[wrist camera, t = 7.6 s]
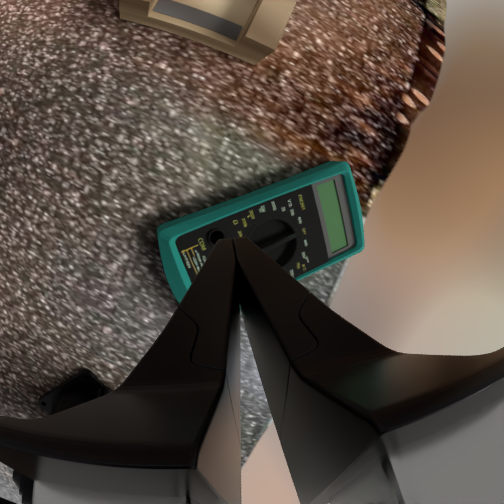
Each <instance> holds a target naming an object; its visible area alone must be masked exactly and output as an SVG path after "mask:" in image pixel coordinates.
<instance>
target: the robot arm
mask: <svg viewBox="0 0 504 504" xmlns="http://www.w3.org/2000/svg"><path fill="white" fill-rule="evenodd" d="M240 308H241V312H242V316H243V320H244V323H245V327H246V330H247V334H248V337H249V341H250V344H251V348H252V351H253V354H254V358H255V361H256V365H257V368H258V371H259V375H260V378H261V381H262V385H263V388H264V391H265V394H266V398H267V401H268V404H269V407H270V411H271V414H272V417H273V420H274V423H275V427H276V430H277V433H278V436H279V439H280V443H281V446H282V449H283V452H284V455H285V458H286V461H287V465H288V468H289V471H290V474H291V477H292V480H293V483H294V486H295V489H296V492H297V495H298V498H299V501H300V503H301V504H328V503H330V504H504V347H503V348H501V349H499V350H497V351H495V352H492V353H488V354H483V355H473V356H451V355H423V354H406V353H400V352H396V351H394V350H391V349H389V348H387V347H385V346H384V345H382V344H380V343H379V342H377V341H376V340H374V339H373V338H371V337H370V336H368V335H367V334H366V333H364V332H362V331H361V330H359V329H358V328H357V327H355V326H354V325H352V324H351V323H349V322H348V321H346V320H345V319H344V318H342V317H341V316H340V315H338V314H337V313H335V312H334V311H332V310H331V309H330V308H329V307H328V306H326V305H325V304H324V303H323V302H322V301H320V300H319V299H318V298H317V297H316V296H315V295H313V294H312V293H310V291H309V290H307V289H306V288H305V287H304V286H303V285H302V284H301V283H299V282H298V281H297V280H296V279H295V278H294V277H292V276H291V275H290V274H289V273H288V272H287V271H286V270H284V269H283V268H282V267H281V266H280V265H279V264H277V263H276V262H275V261H274V260H273V259H272V258H271V257H269V256H268V255H267V254H266V253H265V252H264V251H262V250H261V249H260V248H259V247H258V246H257V245H255V244H254V243H253V242H252V241H251V240H250V239H249V238H247V237H238V238H234V239H233V240H232V239H230V238H228V239H219V240H218V241H217V243H216V244H215V246H214V247H213V249H212V251H211V252H210V254H209V256H208V257H207V259H206V260H205V262H204V264H203V265H202V267H201V269H200V270H199V272H198V274H197V275H196V277H195V279H194V280H193V282H192V284H191V285H190V287H189V289H188V290H187V292H186V294H185V295H184V297H183V299H182V300H181V302H180V304H179V306H178V308H177V309H176V310H175V312H174V314H173V316H172V317H171V319H170V320H169V322H168V324H167V325H166V327H165V328H164V330H163V331H162V333H161V334H160V335H159V337H158V338H157V340H156V341H155V342H154V344H153V345H152V346H151V348H150V349H149V350H148V351H147V353H146V354H145V355H144V357H143V358H142V359H141V360H140V362H139V363H138V364H137V366H136V367H135V368H134V370H133V371H132V372H131V373H130V375H129V376H128V377H127V378H126V380H125V381H124V382H123V383H122V384H121V385H120V386H119V387H118V388H116V389H115V390H114V391H112V390H111V389H110V388H109V387H107V386H105V385H104V384H103V383H102V382H101V381H100V380H99V379H98V378H97V377H96V376H95V375H94V374H93V373H92V372H91V371H89V370H83V371H81V372H80V373H78V374H76V375H75V376H73V377H72V378H70V379H68V380H67V381H65V382H63V383H62V384H60V385H59V386H57V387H55V388H54V389H52V390H50V391H49V392H47V393H46V394H44V395H42V396H41V397H40V398H39V401H38V403H39V405H40V406H41V407H42V408H43V409H45V410H46V411H47V412H48V413H49V414H50V416H46V417H42V418H37V419H18V418H13V417H8V416H0V461H1V462H2V463H4V464H5V465H7V466H9V467H10V468H12V469H14V471H13V478H12V479H13V481H14V482H15V484H16V485H17V487H18V488H19V495H22V504H241V447H240V446H241V424H240ZM85 375H88V376H89V377H85ZM44 402H45V403H44ZM0 504H16V503H14V502H11V501H8V500H6V499H3V498H1V497H0Z"/></svg>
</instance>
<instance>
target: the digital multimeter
mask: <svg viewBox="0 0 504 504" xmlns="http://www.w3.org/2000/svg"><path fill="white" fill-rule="evenodd" d="M302 187H303V188H302ZM294 190H295V191H294ZM286 193H287V194H286ZM278 196H279V197H278ZM273 198H274V199H273ZM265 201H266V202H265ZM260 203H261V204H260ZM252 206H253V207H252ZM247 208H248V209H247ZM242 210H243V211H242ZM237 212H238V213H237ZM232 214H233V215H232ZM227 216H228V217H227ZM224 217H225V218H224ZM222 218H223V219H222ZM219 219H220V220H219ZM217 220H218V221H217ZM212 222H213V223H212ZM207 224H208V225H207ZM202 226H203V227H202ZM197 228H198V229H197ZM195 229H196V230H195ZM190 231H191V232H190ZM185 233H186V234H185ZM183 234H184V235H183ZM157 237H158V244H159V250H160V255H161V259H162V263H163V267H164V271H165V275H166V279H167V281H168V283H169V286H170V288H171V290H172V292H173V294H174V296H175V298H176V299H177V301H178V302H179V304H180V302H181V300H182V299H183V297H184V295H185V294H186V292H187V290H188V289H189V287H190V285H191V284H192V282H193V280H194V279H195V277H196V275H197V274H198V272H199V270H200V269H201V267H202V265H203V264H204V262H205V260H206V259H207V257H208V256H209V254H210V252H211V251H212V249H213V247H214V246H215V244H216V243H217V241H218V240H219V239H228V238H230V239H232V240H233V239H234V238H238V237H247V238H249V239H250V240H251V241H252V242H253V243H254V244H255V245H257V246H258V247H259V248H260V249H261V250H262V251H264V252H265V253H266V254H267V255H268V256H269V257H271V258H272V259H273V260H274V261H275V262H276V263H277V264H279V265H280V266H281V267H282V268H283V269H284V270H286V271H287V272H288V273H289V274H290V275H291V276H292V277H294V278H295V279H296V280H297V281H298V280H300V279H302V278H304V277H307V276H309V275H311V274H313V273H315V272H317V271H319V270H321V269H324V268H326V267H328V266H330V265H333V264H335V263H337V262H339V261H342V260H344V259H346V258H348V257H351V256H353V255H355V254H357V253H359V252H361V251H362V250H363V249H364V230H363V221H362V213H361V207H360V202H359V197H358V193H357V190H356V186H355V182H354V179H353V176H352V172H351V169H350V166H349V164H348V163H347V162H340V161H329V162H327V163H324V164H321V165H319V166H316V167H314V168H311V169H309V170H306V171H304V172H301V173H299V174H297V175H294V176H292V177H289V178H287V179H284V180H281V181H279V182H276V183H273V184H271V185H268V186H266V187H263V188H260V189H258V190H255V191H253V192H250V193H248V194H245V195H242V196H239V197H236V198H233V199H231V200H228V201H225V202H222V203H219V204H217V205H214V206H211V207H208V208H206V209H203V210H200V211H197V212H194V213H191V214H189V215H186V216H183V217H180V218H177V219H174V220H172V221H169V222H166V223H163V224H161V225H160V226H158V228H157ZM298 246H299V247H298ZM296 253H297V254H296ZM240 309H241V308H240Z"/></svg>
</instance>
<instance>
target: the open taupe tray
mask: <svg viewBox="0 0 504 504" xmlns="http://www.w3.org/2000/svg"><path fill="white" fill-rule="evenodd" d="M296 1H297V0H119V12H120V19H123V20H127V21H131V22H135V23H139V24H143V25H146V26H150V27H153V28H156V29H160V30H163V31H166V32H169V33H173V34H176V35H179V36H182V37H185V38H187V39H190V40H193V41H196V42H199V43H201V44H204V45H207V46H209V47H212V48H214V49H217V50H219V51H222V52H224V53H227V54H229V55H232V56H234V57H236V58H239V59H241V60H243V61H246V62H248V63H250V64H252V65H255V64H257V63H258V62H259V61H261V60H262V59H264V58H265V57H266V56H268V55H269V54H271V53H272V52H274V51H275V50H276V47H277V45H278V43H279V40H280V38H281V36H282V33H283V31H284V29H285V26H286V24H287V22H288V19H289V17H290V15H291V13H292V10H293V8H294V6H295V3H296Z"/></svg>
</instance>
